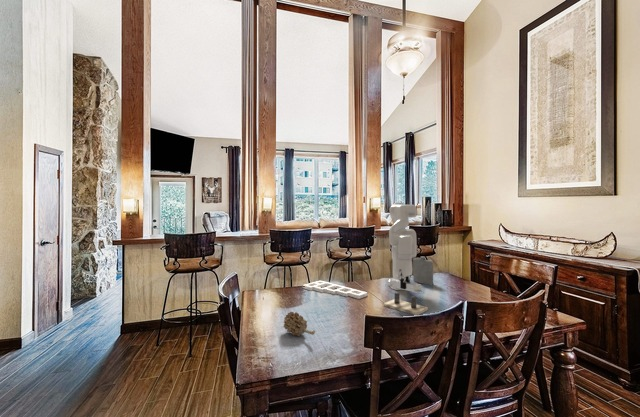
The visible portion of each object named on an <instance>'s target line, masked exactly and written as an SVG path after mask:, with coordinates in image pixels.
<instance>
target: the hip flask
mask: <svg viewBox="0 0 640 417" xmlns="http://www.w3.org/2000/svg"><path fill="white" fill-rule="evenodd" d="M412 260H413V262H412V275H413V276H412V277H413V282H414V283H418V284H420V283H421V284H425V285H430V286H432V285H434V261H433V260H430V259H429V260H428V259H426V256H420V257H419V258H416V257H414V258H412Z"/></svg>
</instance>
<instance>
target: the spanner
mask: <svg viewBox="0 0 640 417" xmlns="http://www.w3.org/2000/svg"><path fill="white" fill-rule="evenodd" d="M389 280H390V283H389V287H390V288H391V287H394V288H399V289H401V288H400V280H397V279H393V278H391V279H389ZM405 282H406V289H403V290H402V291H408V292H412V293H416V294H417V293H420V292H421V293H422V291H423V290H422V289H423V286H422V283H421V284H420V283H418V282H411V281H410V282H407V281H405Z"/></svg>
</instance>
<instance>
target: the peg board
mask: <svg viewBox="0 0 640 417" xmlns="http://www.w3.org/2000/svg"><path fill="white" fill-rule="evenodd" d="M400 297H401V296H400V292H394V298H392V299H391V300H388V301H386V302H384V303H383V306H384V307H385V308H386V307H387V308H390V309H393V310H397V311H401V312H403V313H404V312H405V313H408V314H411V315H415V316H420V315H422V314H423V313H425V312H426V311H428V308H429V307H428V306H424V305H421V304H417V296H410V302H408V301H405V300H401V299H400Z"/></svg>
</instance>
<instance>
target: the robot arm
mask: <svg viewBox="0 0 640 417" xmlns="http://www.w3.org/2000/svg"><path fill="white" fill-rule="evenodd" d="M417 214H418V208H417V206H416V205H415V204H393V205H391V206H390V207H389V215H390V218H391V221H392V225H391V226H390V228H389V231H388V240H389V245H390V246H391V248H390V249H391V257H392V258H391V259H392V279H397V280H400V288H401V289H399V288H394V287H390V288H391V289H392V290H396V291H404V290H403V289H406V282H405V281H407V282H411V277H412V275H413V262H412V260H413V259H414V258H416V257H417V254H418V252H417V251H418V250H417V248H418V247H417V233H416V231H415V230H414V229H413V228H407V227H408V226H409V224H410V221H409V220H410V219H409V218H416V217H417ZM406 228H407V229H406ZM390 280H391V279H389V280H388V284H390Z"/></svg>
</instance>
